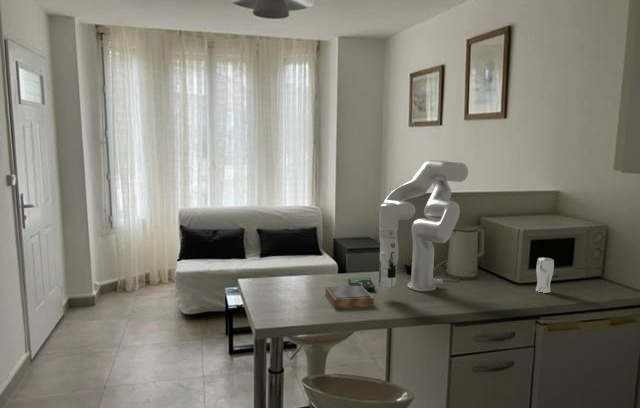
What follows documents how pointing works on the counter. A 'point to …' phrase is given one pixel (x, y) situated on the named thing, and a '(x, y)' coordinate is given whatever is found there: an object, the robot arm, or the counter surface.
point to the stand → (349, 297)
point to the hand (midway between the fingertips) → (387, 274)
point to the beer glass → (544, 274)
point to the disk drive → (362, 283)
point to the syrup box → (385, 273)
